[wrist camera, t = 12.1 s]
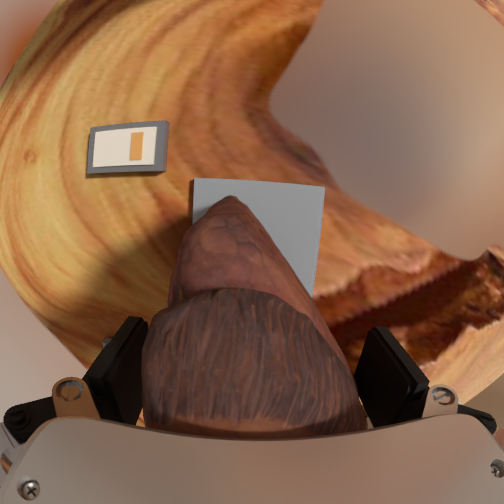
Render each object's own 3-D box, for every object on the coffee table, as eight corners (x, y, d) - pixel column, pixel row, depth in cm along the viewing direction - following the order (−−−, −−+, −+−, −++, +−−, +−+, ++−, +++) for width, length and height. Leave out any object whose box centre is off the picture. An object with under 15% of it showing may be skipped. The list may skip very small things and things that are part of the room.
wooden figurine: (176, 230, 21) (0, 373, 4) (244, 184, 20) (228, 190, 3) (256, 341, 24) (268, 544, 6) (319, 305, 23) (416, 494, 5)
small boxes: (96, 129, 19) (89, 127, 18) (169, 123, 19) (165, 119, 18) (112, 367, 25) (108, 374, 24) (172, 378, 25) (170, 386, 24)
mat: (195, 177, 21) (194, 177, 20) (322, 186, 21) (324, 187, 20) (194, 346, 24) (193, 349, 24) (301, 351, 25) (302, 354, 24)
